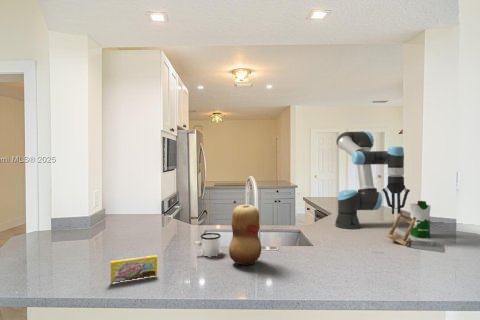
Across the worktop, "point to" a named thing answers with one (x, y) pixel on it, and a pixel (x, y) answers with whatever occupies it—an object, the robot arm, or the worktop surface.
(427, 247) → the mat
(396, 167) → the robot arm
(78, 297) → the worktop surface
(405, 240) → the stool
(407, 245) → the strip
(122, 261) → the candy box
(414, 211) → the milk carton
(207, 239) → the mug
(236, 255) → the butternut squash
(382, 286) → the worktop surface
